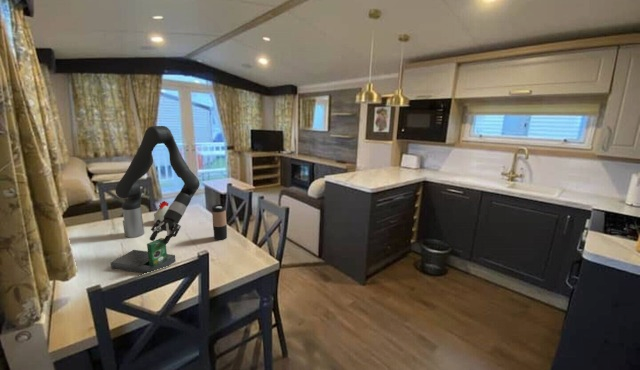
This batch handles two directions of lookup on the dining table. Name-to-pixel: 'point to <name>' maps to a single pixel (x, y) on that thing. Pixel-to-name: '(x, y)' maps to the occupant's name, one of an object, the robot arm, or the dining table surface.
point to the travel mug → (219, 222)
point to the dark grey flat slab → (139, 262)
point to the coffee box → (156, 251)
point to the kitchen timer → (161, 212)
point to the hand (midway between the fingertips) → (157, 242)
